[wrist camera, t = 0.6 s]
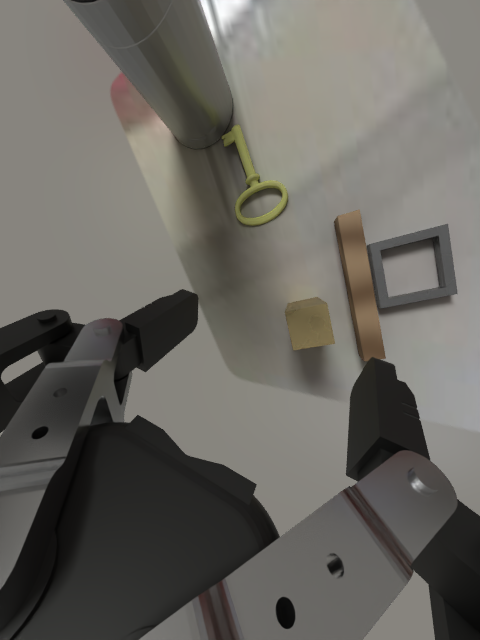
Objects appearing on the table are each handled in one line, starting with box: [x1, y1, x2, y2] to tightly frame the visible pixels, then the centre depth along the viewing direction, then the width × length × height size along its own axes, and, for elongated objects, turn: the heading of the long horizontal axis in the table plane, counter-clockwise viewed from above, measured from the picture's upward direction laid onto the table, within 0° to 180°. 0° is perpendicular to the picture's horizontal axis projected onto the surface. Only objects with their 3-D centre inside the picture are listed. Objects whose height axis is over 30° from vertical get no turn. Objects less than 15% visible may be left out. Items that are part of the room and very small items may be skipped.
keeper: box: [367, 224, 457, 308], centre depth 27 cm, size 8×8×1 cm
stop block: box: [285, 297, 335, 350], centre depth 27 cm, size 4×4×10 cm
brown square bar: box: [334, 210, 386, 361], centre depth 29 cm, size 18×2×2 cm, turn 14°
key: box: [221, 125, 288, 226], centre depth 30 cm, size 7×12×2 cm, turn 38°
